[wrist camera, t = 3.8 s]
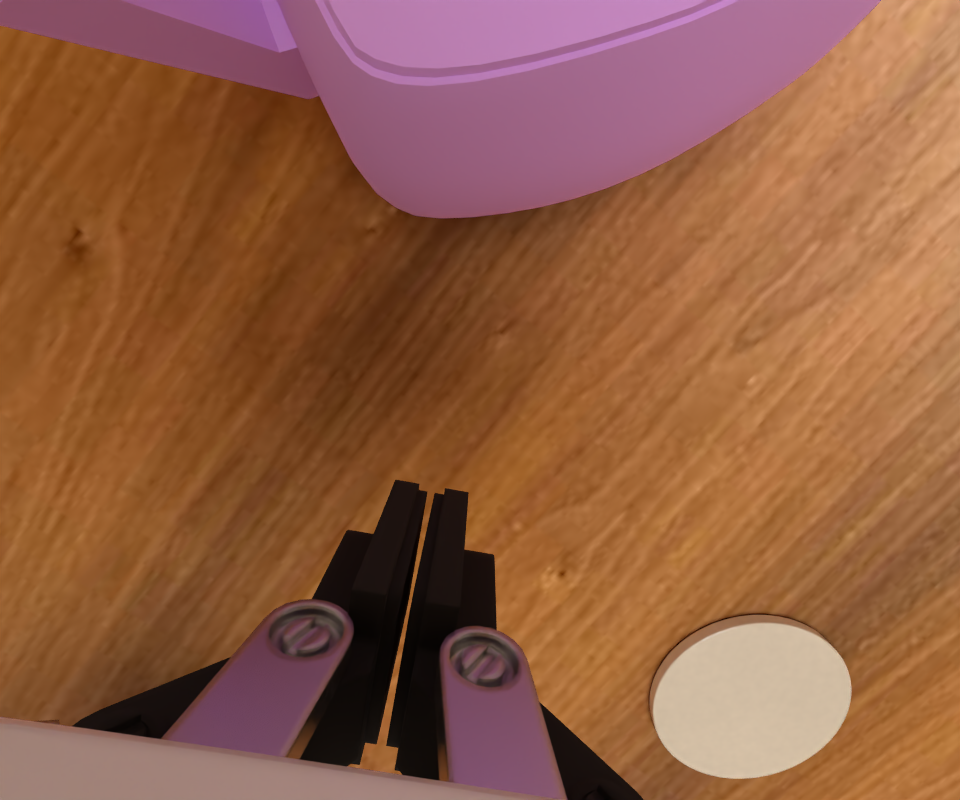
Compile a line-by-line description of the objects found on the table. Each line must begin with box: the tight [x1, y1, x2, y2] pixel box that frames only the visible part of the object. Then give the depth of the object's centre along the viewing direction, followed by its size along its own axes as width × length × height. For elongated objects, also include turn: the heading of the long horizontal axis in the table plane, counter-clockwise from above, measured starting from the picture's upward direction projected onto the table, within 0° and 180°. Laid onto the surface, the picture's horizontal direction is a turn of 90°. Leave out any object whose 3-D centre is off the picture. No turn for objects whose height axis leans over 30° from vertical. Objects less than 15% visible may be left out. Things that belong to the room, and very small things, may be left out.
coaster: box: [649, 615, 852, 779], centre depth 24 cm, size 9×9×1 cm
